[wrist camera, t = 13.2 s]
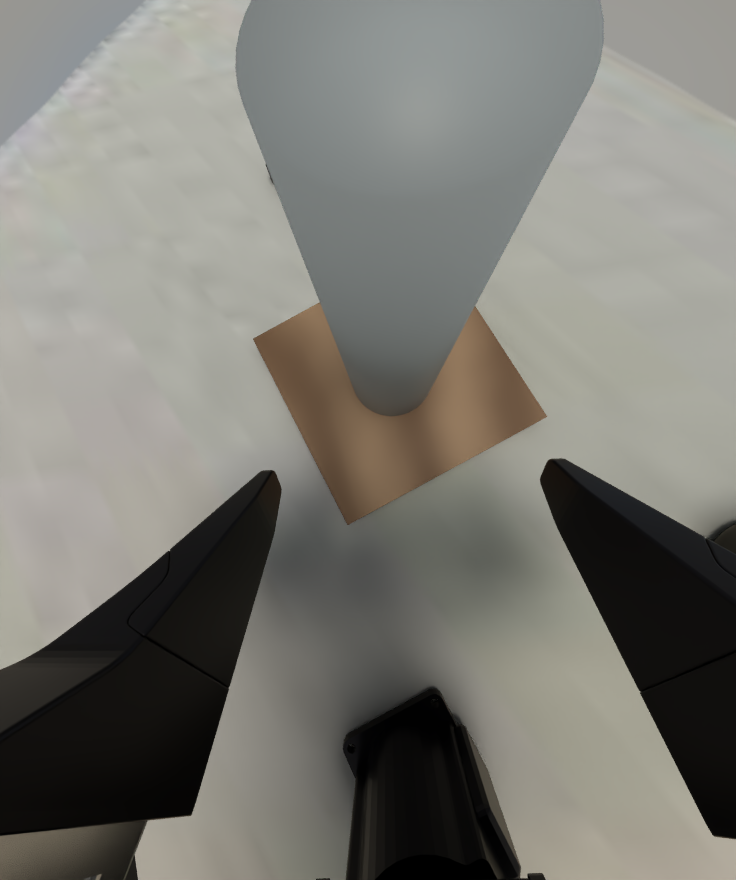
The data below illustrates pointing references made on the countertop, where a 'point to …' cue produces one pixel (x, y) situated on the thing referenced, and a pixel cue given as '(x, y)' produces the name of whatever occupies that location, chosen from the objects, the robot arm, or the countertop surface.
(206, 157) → the countertop surface
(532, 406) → the walnut board
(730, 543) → the supplement bottle
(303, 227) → the slate round-topped tapered cone
